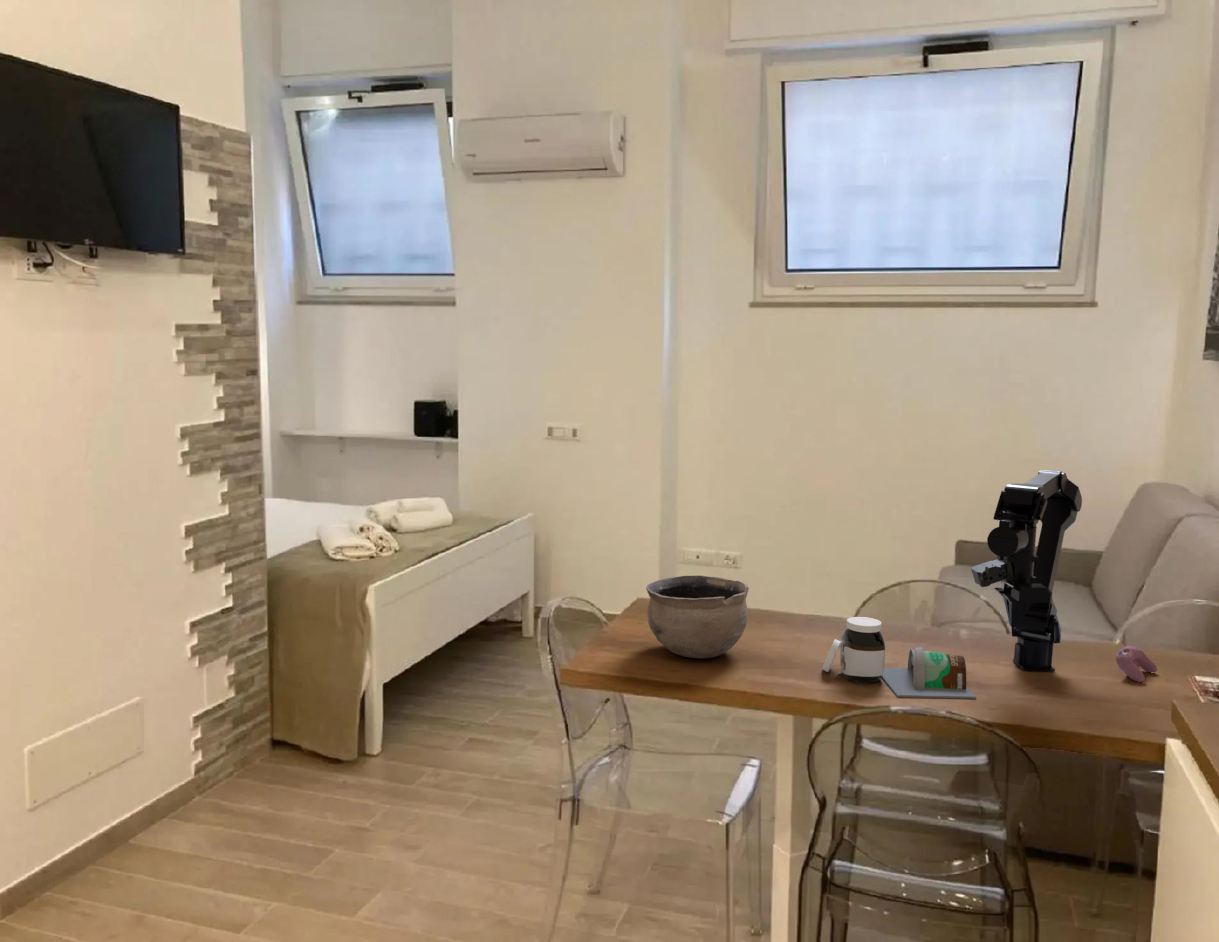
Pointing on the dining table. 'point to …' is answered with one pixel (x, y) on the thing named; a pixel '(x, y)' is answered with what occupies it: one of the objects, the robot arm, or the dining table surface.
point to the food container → (937, 669)
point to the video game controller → (1134, 662)
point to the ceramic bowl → (697, 614)
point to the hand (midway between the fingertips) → (1013, 626)
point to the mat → (903, 687)
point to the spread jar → (860, 651)
